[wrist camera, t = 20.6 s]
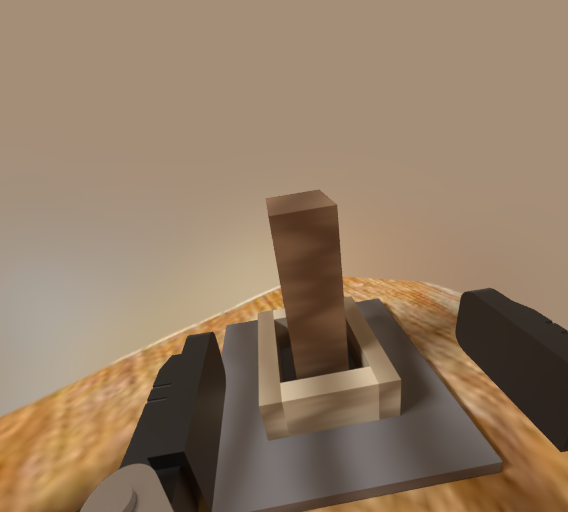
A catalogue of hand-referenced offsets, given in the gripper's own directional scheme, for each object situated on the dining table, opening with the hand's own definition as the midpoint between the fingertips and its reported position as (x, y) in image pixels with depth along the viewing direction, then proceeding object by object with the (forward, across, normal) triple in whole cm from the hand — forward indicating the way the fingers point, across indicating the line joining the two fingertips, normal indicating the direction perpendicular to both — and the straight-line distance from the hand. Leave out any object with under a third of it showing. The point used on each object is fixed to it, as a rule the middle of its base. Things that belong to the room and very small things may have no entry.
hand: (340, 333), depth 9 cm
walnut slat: (+11, -1, +13) cm, 17 cm away
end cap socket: (+11, -1, +14) cm, 18 cm away
